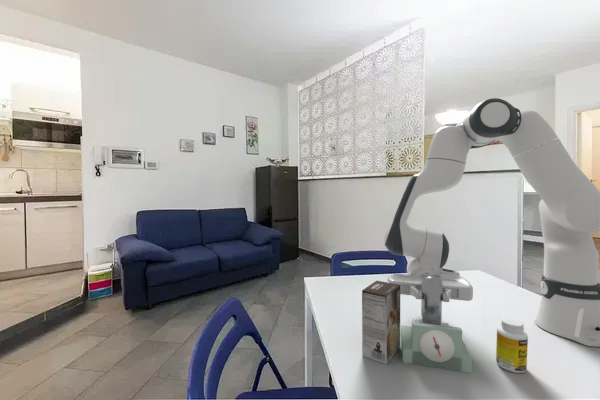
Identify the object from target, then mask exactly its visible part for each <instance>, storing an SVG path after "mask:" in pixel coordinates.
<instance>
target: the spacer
mask: <svg viewBox="0 0 600 400" xmlns="http://www.w3.org/2000/svg"><path fill="white" fill-rule="evenodd" d="M420 300H421V302H420V304H421V305H420V307H421V308H420V320H421V323H425V324H434V325H441V323H442V310H443V309H442V308H443V302H442V277H441V276H438V275H434V274H423V275H422V299H420Z"/></svg>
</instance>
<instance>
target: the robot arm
mask: <svg viewBox="0 0 600 400" xmlns="http://www.w3.org/2000/svg"><path fill="white" fill-rule="evenodd" d="M495 141H498V142H499V143H502V145H504V146H505V147H506V148H507V149H508V152H509V153H510V155H511V156H512V157H511V158H513V161H514V162H515V164H516V165H517V167H518V168H519V170H520V172H521V174H522V175H523V178H524V179H525V181H526V182H527V183H528V185H530V186H531V188H533V190H534V191H535V192H536V193H537V194H538V196H539V197H540V198H541V199H540V201H539V204H538V212H539V217H540V226H541V227H540V228H541V235H542V241H543V254H544V255H543V274H542V275H541V280H540V281H541V282H540V293H541V300H540V304H539V309H538V312H537V315H536V316H535V319H534V323H535V324H536V325H537V326H538V327H540V328H541V329H542V330H544V331H547V332H549V333H551V334H554V335H557V336H559V337H562V338H566V339H569V340H571V341H574V342H577V343H579V344H582V345H584V346H588V347H596V348H597V347H600V283H599V281H598V280H599V259H600V258H599V257H600V256H599V251H598V250H597V248H596V245H595V242H594V238H593V233H595V232H596V233H597V232H600V190H599V189H598V188H597V186H596V185H595V184H594V183H593V182H592V181H591V179H590V178H588V176H587V175H586V174H585V173H584V172H583V171H582V170H581V169H580V168H579V167H578V165H577V164H576V163H575V162H574V160H573V159H572V157H571V155H570V154H569V153H568V150H567V149H566V147H565V146H564V145H563V143H562V141H561V140H560V138H559V137H558V135H557V133H556V132H555V131H554V129H553V128H552V127H551V125H550V124H549V123H548V122H547V120H545V119H544V118H543V117H542V115H540V113H538V112H537V111H534V110H525V111H521V110H520V109H518V108H517V107H514V106H513V105H512V103H510V102H508V101H507V100H504V99H501V98H498V97H497V98H495V97H494V98H488V99H485V100H482V101H480V102H479V103H478V104H476V105H475V106H474V107H473V108H472V109H471V110H470V111H469V112H468V113H467V114H466V116H465V117H464V119H463V120H462V122H461V123H460V124H459V125H446V126H443V127H440V128H438V129H437V130H436V131H435V133H434V135H433V137H432V139H431V142H430V145H429V147H428V151H427V154H426V155H427V156H426V159H425V162H424V165H423V168H422V169H421V170H420V172H418V173H417V174H413V175H412V176H411V178H410V179H409V181H408V183H407V186H406V187H405V190H404V191H403V194H402V197H401V200H400V202H399V203H398V207H397V209H396V212H395V214H394V217H393V220H392V222H391V224H390V225H389V226H388V228H387V230H386V233H385V235H384V246H385V248H386V249H387V250H388V251H389V253H391V255H394V256H395V255H396V256H405V257H409V259H408V262H407V265H406V274H405V273H404V274H403V273H393V274H391V275H390V276H387V282H388V283H393V284H399V285H401V286H400V295H402V296H404V295H405V296H411V297H414V298H415V300H421V299H422V275H423V274H434V275H438V276H441V277H442V303H443V302H444V303H450V300H457V301H465V302H470V301H473V299H474V295H473V294H474V288H473V286H472V284H471V283H470V282H469V281H468V280H467V279H466V278H465V277H463V276H461V274H460V272H459V271H457V270H453V269H447V268H443V267H444V266H446V264H447V262H448V258H449V254H450V244H449V241H448V239H447V237H446V235H445V233H443V232H442V231H438V230H434V229H429V228H423V227H418V226H413V225H410V224H408V223H407V221H408V218H409V216H410V214H411V212H412V209H413V207H414V204H415V202H416V200H417V199H419V197H421V196H424V195H427V194H432V193H439V192H443V191H444V192H445V191H447V190H450V189H452V188H454V187H455V186H457V185H458V184H459V183H460V182H461V180H462V178H463V175H464V171H465V168H466V164H467V158H468V157H467V156H468V154H469V151H470V149H478V148H479V149H480V148H483V147H486V146H488V145H489V144H492V143H493V142H495Z"/></svg>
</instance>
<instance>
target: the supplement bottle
mask: <svg viewBox="0 0 600 400" xmlns="http://www.w3.org/2000/svg"><path fill="white" fill-rule="evenodd" d="M500 323H501V324H500V325H498V326H497V328H496V350H495V351H496V352H495V353H496V354H495V361H496V364H497V365H498V366H499V367H500V368H502V369H504V370H506V371H508V372H510V373H514V374H522V373H525V372H526V371H527V367H528V342H529V340H528V338H529V336H528V334H527V332H525V328H524V323H523V322H522V321H520V320H519V319H515V318H511V317H510V318H509V317H503V318H502V319H501V322H500Z"/></svg>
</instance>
